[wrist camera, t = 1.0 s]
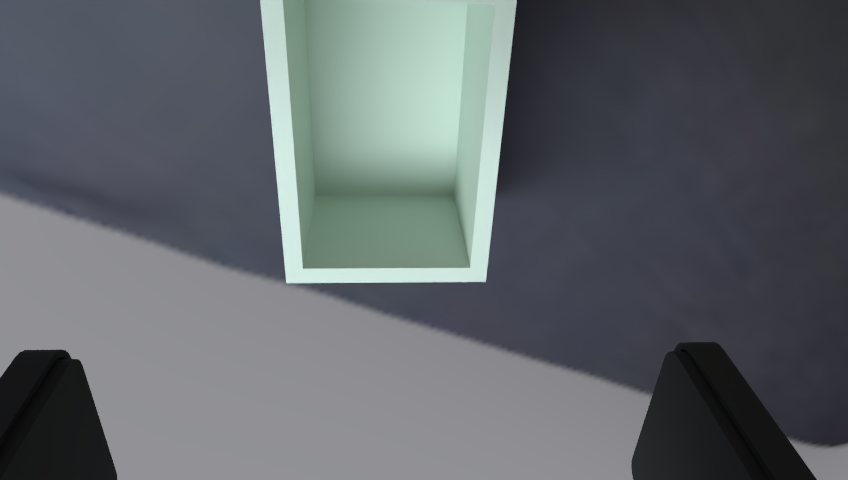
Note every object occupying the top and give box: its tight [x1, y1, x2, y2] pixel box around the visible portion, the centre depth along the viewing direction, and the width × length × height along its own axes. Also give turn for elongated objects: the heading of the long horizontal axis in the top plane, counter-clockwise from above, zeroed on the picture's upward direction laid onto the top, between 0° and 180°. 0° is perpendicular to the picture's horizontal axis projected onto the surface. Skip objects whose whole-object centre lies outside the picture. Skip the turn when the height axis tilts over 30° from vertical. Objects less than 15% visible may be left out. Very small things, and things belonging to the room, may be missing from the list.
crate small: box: [260, 0, 517, 283], centre depth 22 cm, size 7×10×6 cm
